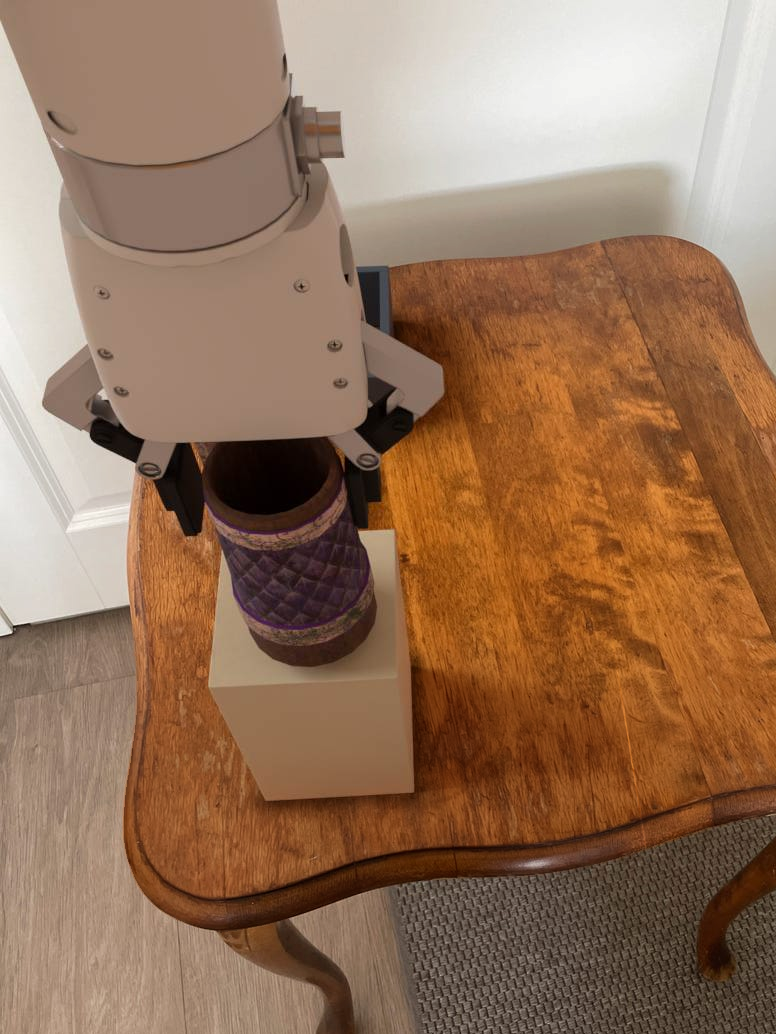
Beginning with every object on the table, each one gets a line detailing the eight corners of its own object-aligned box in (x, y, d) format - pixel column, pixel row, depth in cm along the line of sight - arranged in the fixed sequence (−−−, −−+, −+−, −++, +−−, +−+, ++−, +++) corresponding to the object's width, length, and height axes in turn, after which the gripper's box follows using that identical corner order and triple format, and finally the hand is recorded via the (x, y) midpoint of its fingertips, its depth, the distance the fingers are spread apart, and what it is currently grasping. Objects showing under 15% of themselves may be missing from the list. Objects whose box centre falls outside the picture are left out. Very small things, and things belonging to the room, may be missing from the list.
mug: (406, 622, 50) (382, 469, 40) (294, 696, 48) (238, 553, 38) (301, 509, 54) (256, 344, 44) (194, 572, 52) (120, 413, 42)
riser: (265, 801, 63) (207, 687, 49) (273, 672, 68) (222, 536, 54) (414, 793, 63) (397, 677, 50) (410, 665, 68) (395, 528, 55)
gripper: (449, 83, 32) (456, 444, 47) (-67, 96, 32) (107, 458, 47) (460, 218, 28) (464, 564, 43) (-129, 236, 28) (83, 582, 43)
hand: (278, 507), depth 45 cm, fingers closed on mug, 7 cm apart
